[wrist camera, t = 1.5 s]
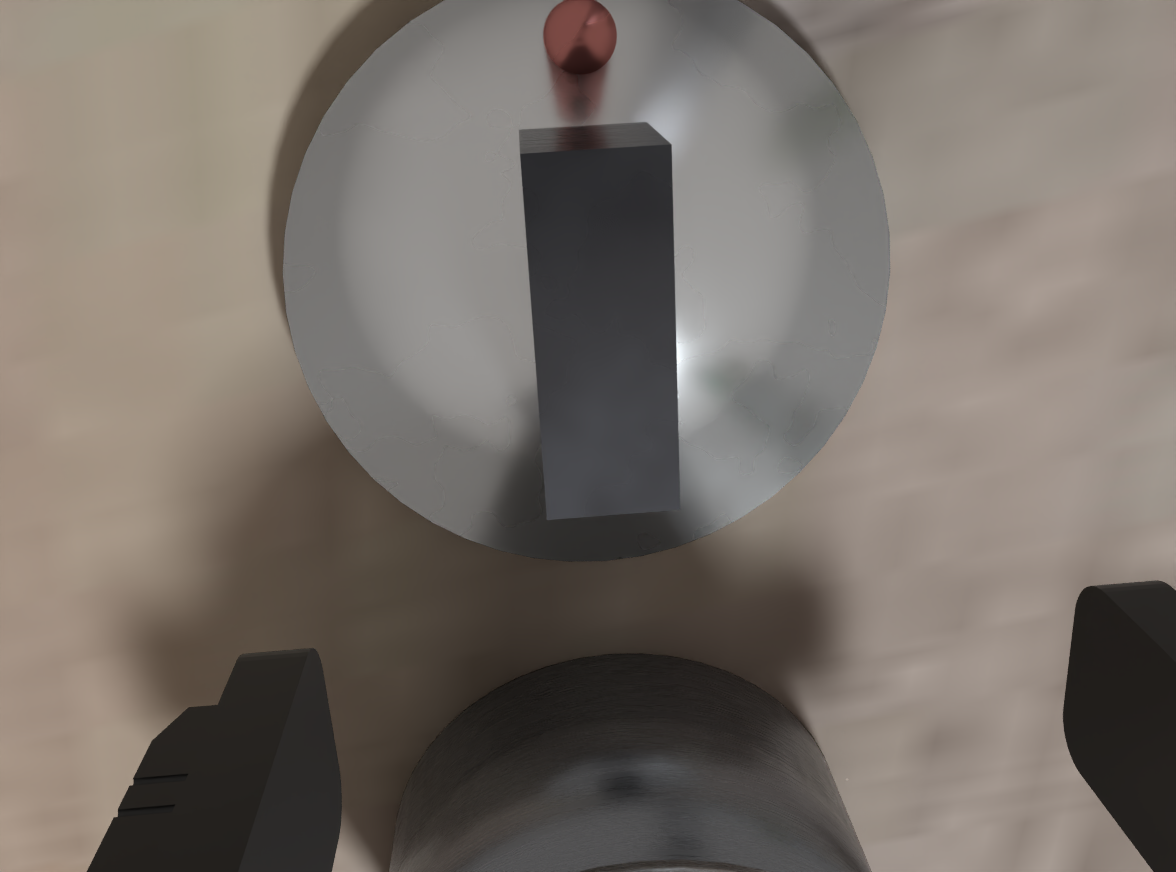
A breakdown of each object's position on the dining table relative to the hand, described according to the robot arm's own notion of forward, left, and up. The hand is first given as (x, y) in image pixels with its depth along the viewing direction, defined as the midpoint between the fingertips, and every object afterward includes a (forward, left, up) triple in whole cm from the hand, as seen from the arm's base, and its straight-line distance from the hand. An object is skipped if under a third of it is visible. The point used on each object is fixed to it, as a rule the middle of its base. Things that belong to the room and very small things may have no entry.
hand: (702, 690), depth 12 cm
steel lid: (0, 0, -18) cm, 18 cm away
